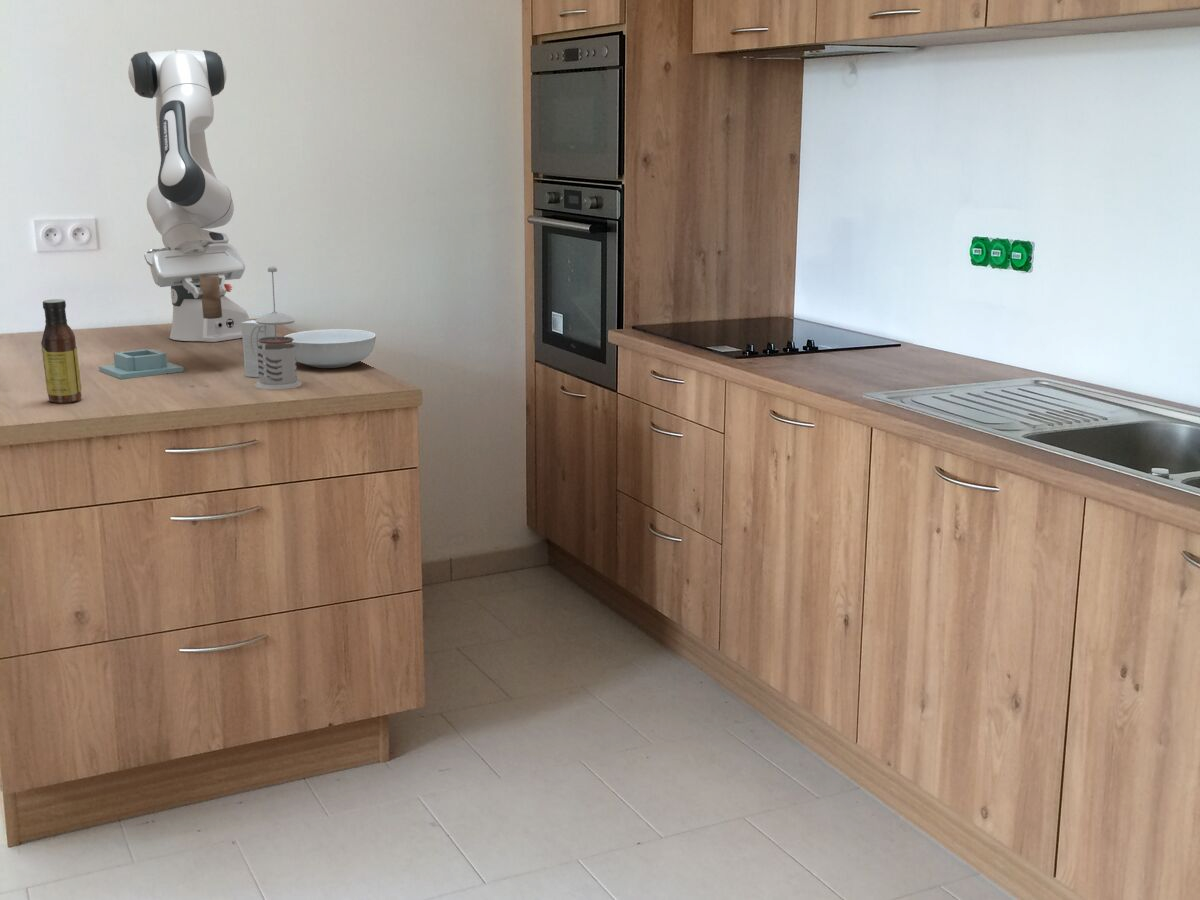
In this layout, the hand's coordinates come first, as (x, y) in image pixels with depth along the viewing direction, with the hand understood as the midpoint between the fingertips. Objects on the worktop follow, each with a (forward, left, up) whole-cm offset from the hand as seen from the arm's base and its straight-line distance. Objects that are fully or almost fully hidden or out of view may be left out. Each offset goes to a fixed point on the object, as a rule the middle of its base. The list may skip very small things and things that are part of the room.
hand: (211, 295), depth 268 cm
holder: (+13, -10, -17) cm, 23 cm away
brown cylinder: (0, 0, -5) cm, 5 cm away
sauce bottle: (+37, +11, -17) cm, 42 cm away
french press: (-3, +21, -17) cm, 27 cm away
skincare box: (-5, +11, -17) cm, 21 cm away
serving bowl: (-24, +8, -17) cm, 31 cm away
